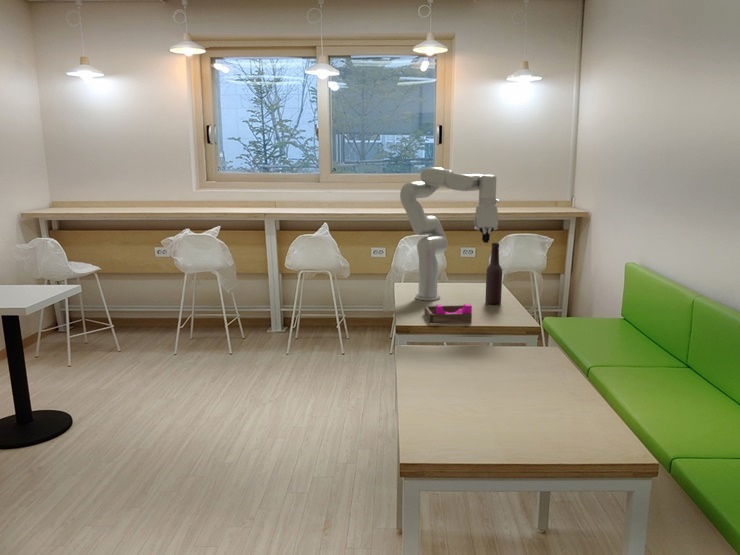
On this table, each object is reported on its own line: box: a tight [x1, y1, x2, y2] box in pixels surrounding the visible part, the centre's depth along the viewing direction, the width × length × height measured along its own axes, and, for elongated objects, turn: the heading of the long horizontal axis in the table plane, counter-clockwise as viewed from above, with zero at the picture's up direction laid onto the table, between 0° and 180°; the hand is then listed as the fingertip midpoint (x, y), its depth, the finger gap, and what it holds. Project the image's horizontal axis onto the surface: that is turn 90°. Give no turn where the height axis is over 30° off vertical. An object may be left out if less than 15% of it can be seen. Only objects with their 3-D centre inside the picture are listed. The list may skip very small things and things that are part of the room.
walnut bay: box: [424, 304, 473, 324], centre depth 262 cm, size 15×18×4 cm
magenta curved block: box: [435, 303, 473, 314], centre depth 259 cm, size 15×6×8 cm, turn 95°
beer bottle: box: [485, 242, 503, 306], centre depth 285 cm, size 8×8×30 cm
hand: (485, 242), depth 270 cm, fingers closed
